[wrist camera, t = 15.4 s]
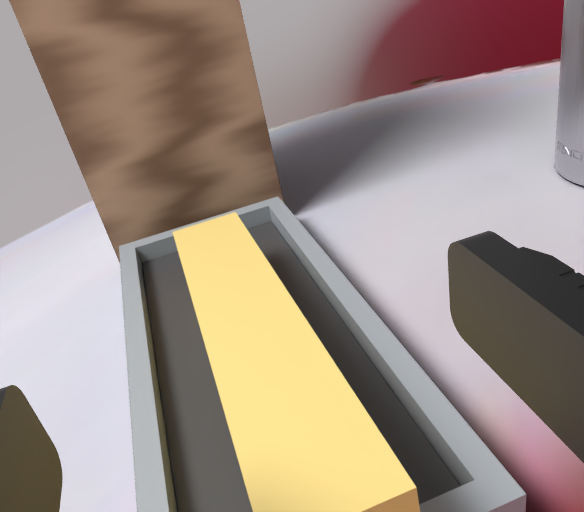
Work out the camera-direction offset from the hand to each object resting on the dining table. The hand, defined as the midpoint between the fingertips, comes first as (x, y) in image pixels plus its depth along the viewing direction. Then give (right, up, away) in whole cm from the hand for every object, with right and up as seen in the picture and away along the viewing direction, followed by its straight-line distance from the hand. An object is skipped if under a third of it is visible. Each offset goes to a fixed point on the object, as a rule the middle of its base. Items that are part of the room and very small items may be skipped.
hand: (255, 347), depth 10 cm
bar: (0, -3, +12) cm, 13 cm away
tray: (-1, -3, +16) cm, 17 cm away
